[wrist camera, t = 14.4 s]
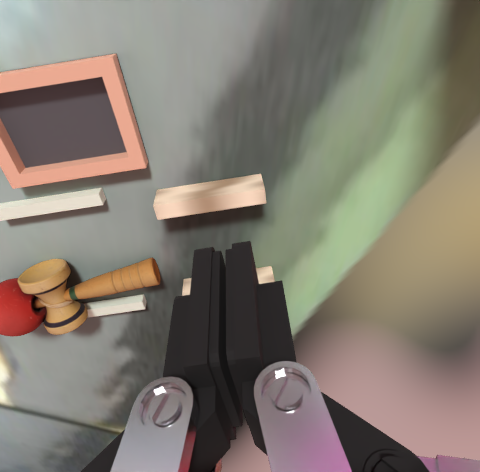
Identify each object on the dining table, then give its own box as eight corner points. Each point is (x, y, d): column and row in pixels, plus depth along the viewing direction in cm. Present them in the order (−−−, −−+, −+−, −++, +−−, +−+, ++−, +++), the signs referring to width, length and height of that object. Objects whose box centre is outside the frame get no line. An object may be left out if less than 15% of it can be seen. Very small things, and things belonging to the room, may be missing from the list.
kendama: (141, 221, 40) (-30, 270, 39) (145, 265, 35) (-48, 321, 34) (164, 267, 45) (14, 311, 44) (169, 310, 41) (3, 359, 40)
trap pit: (116, 53, 29) (112, 57, 28) (148, 160, 34) (146, 167, 33) (-35, 77, 29) (-46, 82, 28) (19, 180, 35) (12, 188, 33)
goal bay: (101, 187, 36) (98, 193, 35) (146, 301, 44) (145, 309, 43) (-2, 203, 36) (-8, 210, 35) (63, 313, 45) (59, 321, 44)
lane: (260, 173, 36) (264, 188, 33) (272, 276, 43) (276, 294, 41) (157, 189, 36) (153, 205, 34) (186, 288, 44) (185, 307, 41)
